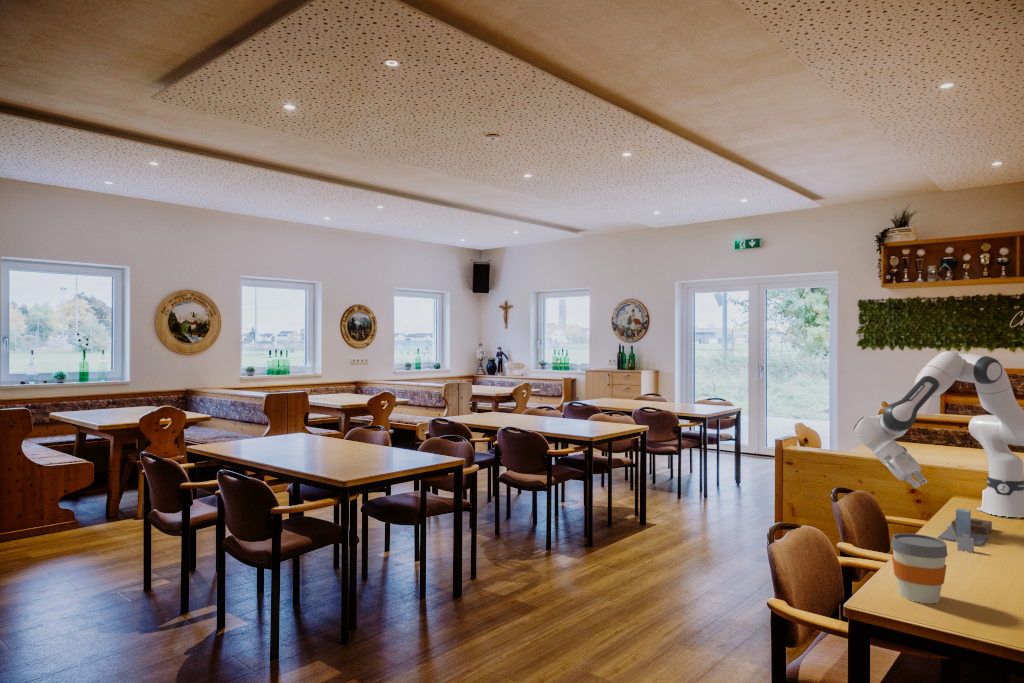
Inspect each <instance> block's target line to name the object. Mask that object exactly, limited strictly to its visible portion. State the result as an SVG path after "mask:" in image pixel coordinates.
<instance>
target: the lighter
mask: <svg viewBox="0 0 1024 683" xmlns="http://www.w3.org/2000/svg"><path fill="white" fill-rule="evenodd" d="M946 527H947V529H949V531H950V533H951V535H952V537H953V538H955V537H957V542H956V543H957V547H956V548H957V551H959V550H962V551H961V552H964V551H967V552H966V553H970V552H971V554H973V553H974V552H975V548H974V547H975V545H974V539H973V538H971V537H970V536H969V535H966V534H962V536H958V534H957V532H956V530H955V528H954V527H953V525H952V523H949V524H946Z"/></svg>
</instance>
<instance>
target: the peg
mask: <svg viewBox="0 0 1024 683" xmlns="http://www.w3.org/2000/svg"><path fill="white" fill-rule="evenodd" d="M971 515H972V514H971V509H970V510H969V509H963V508H957V509H956V510H955V519H956V532H957V534H958V536H962V534H966V535H969V536H970V537H971V518H972V517H971Z"/></svg>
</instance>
